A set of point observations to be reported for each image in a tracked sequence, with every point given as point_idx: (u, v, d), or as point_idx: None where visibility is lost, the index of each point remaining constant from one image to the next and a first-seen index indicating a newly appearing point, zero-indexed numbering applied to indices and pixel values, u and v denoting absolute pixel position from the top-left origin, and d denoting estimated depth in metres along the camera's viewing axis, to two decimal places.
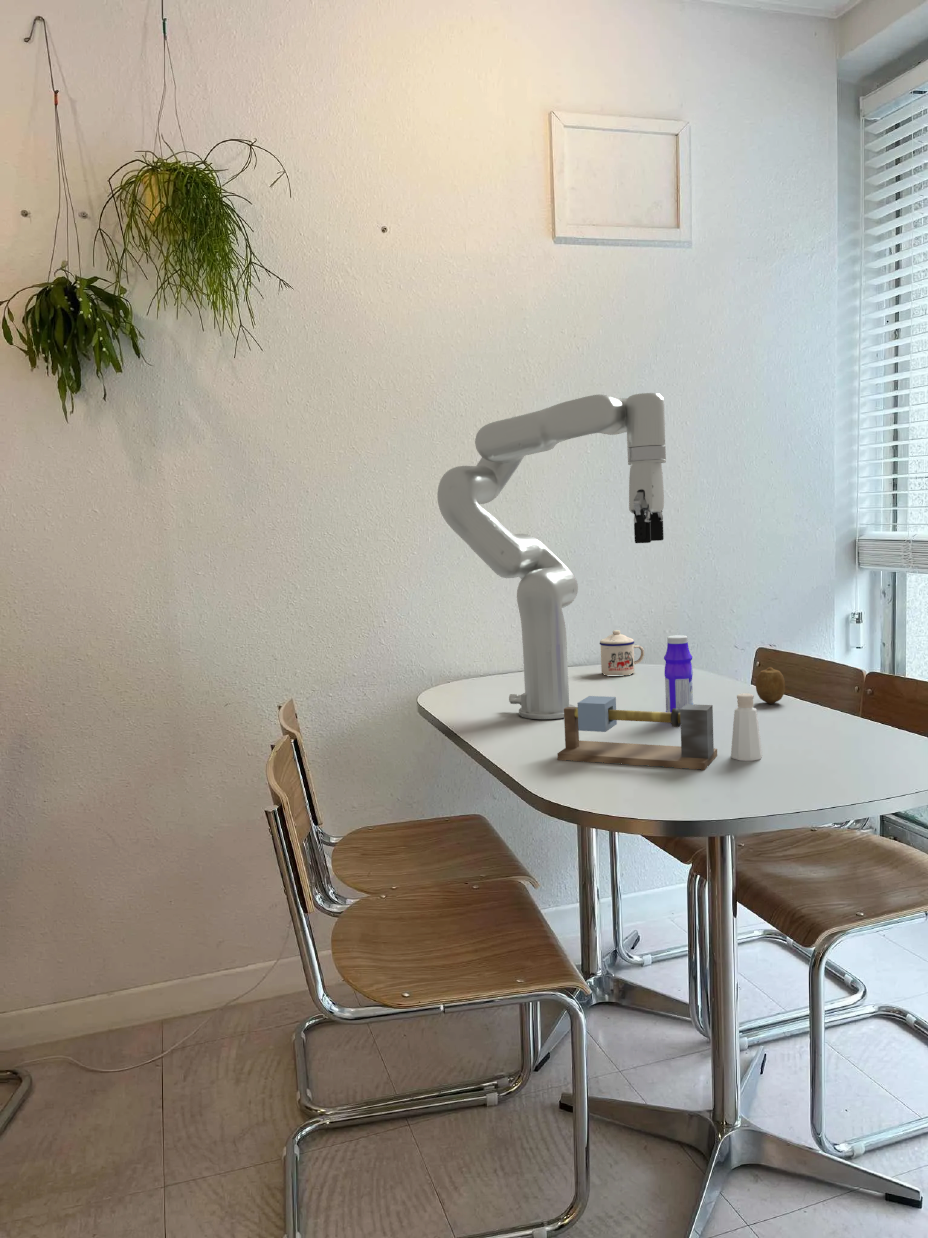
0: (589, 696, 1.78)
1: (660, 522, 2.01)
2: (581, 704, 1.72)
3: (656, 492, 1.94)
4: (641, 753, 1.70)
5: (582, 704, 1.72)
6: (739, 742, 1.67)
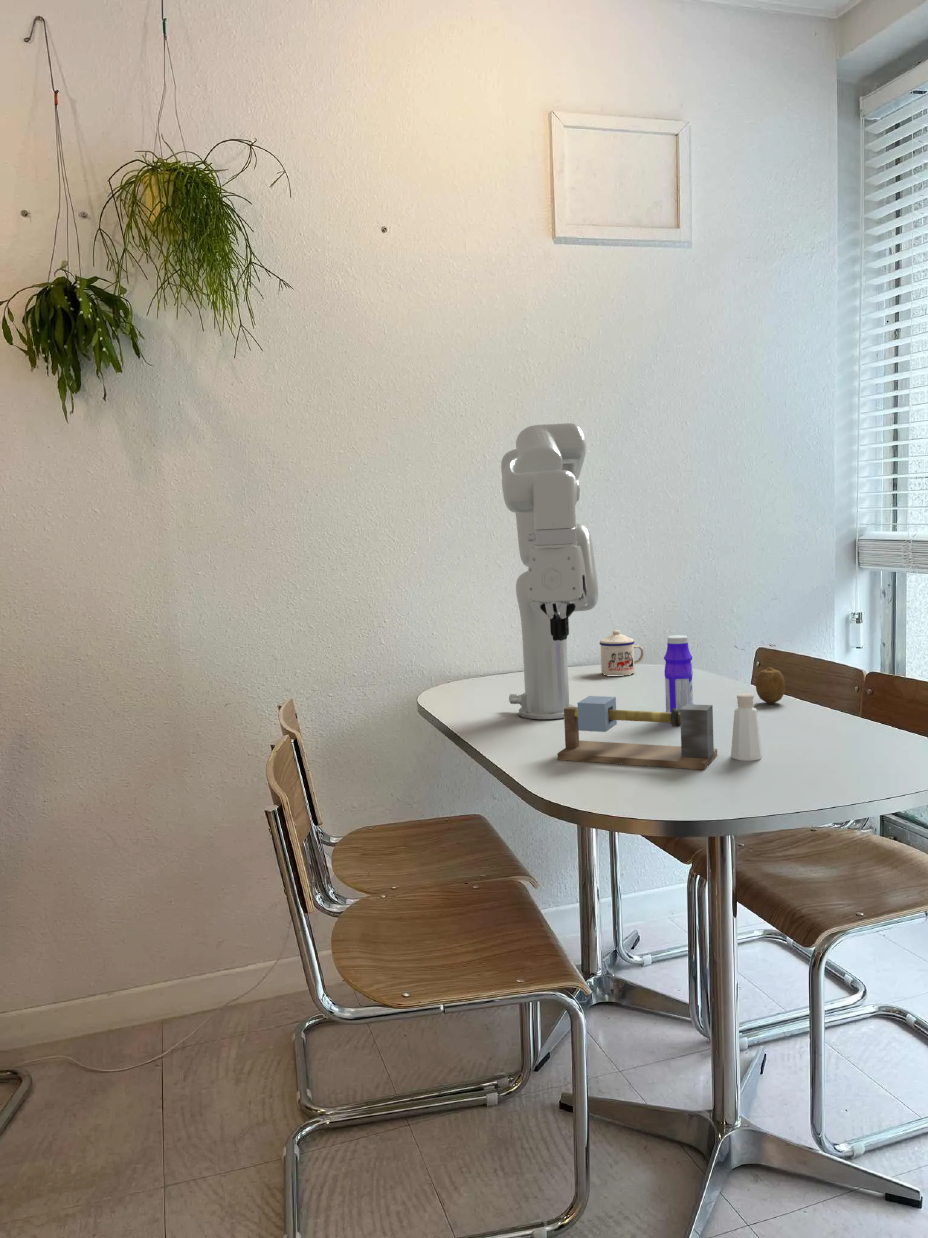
0: (589, 696, 1.78)
1: None
2: (581, 704, 1.72)
3: None
4: (641, 753, 1.70)
5: (582, 704, 1.72)
6: (739, 742, 1.67)
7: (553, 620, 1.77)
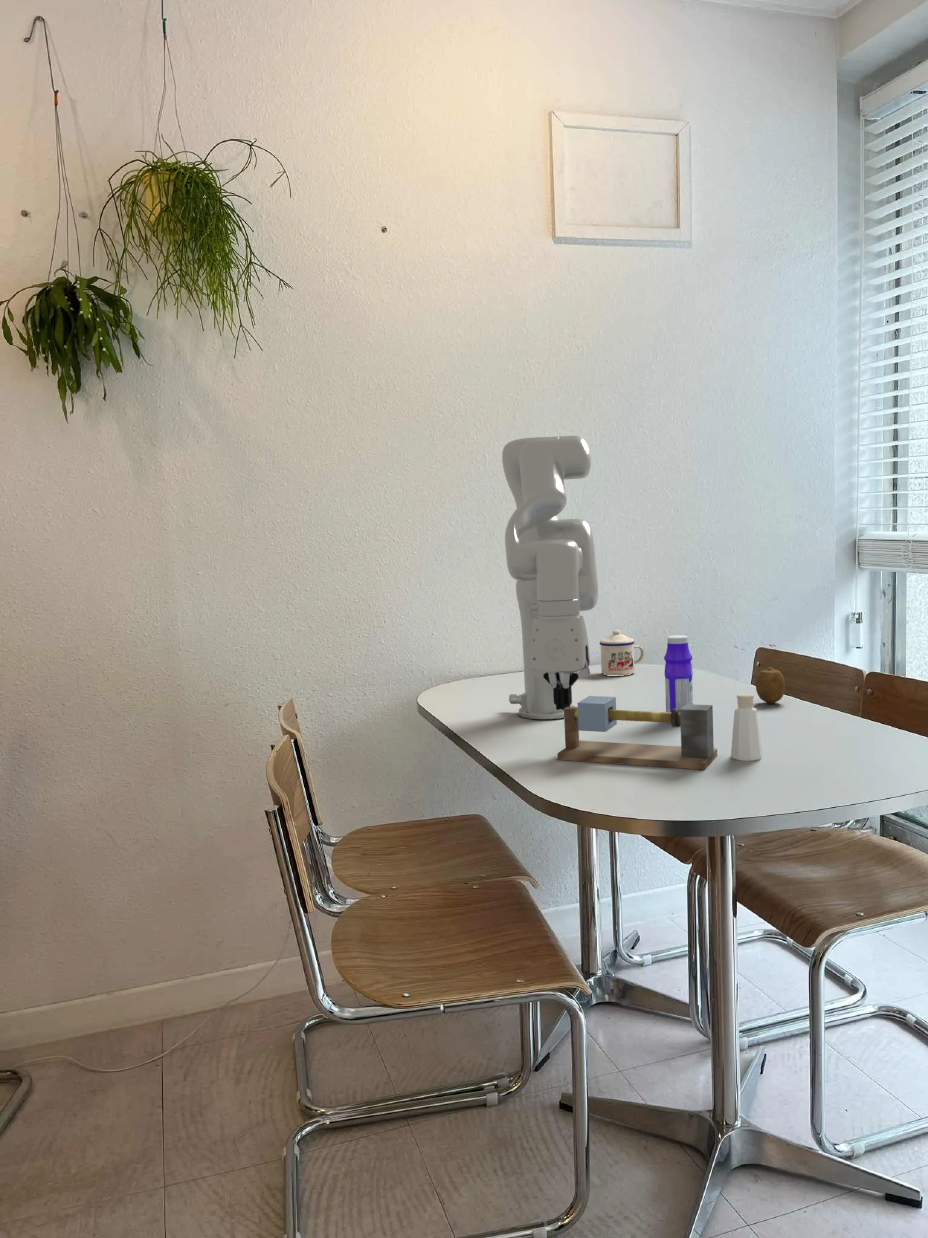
0: (589, 696, 1.78)
1: None
2: (581, 704, 1.72)
3: None
4: (641, 753, 1.70)
5: (582, 704, 1.72)
6: (739, 742, 1.67)
7: (556, 690, 1.78)
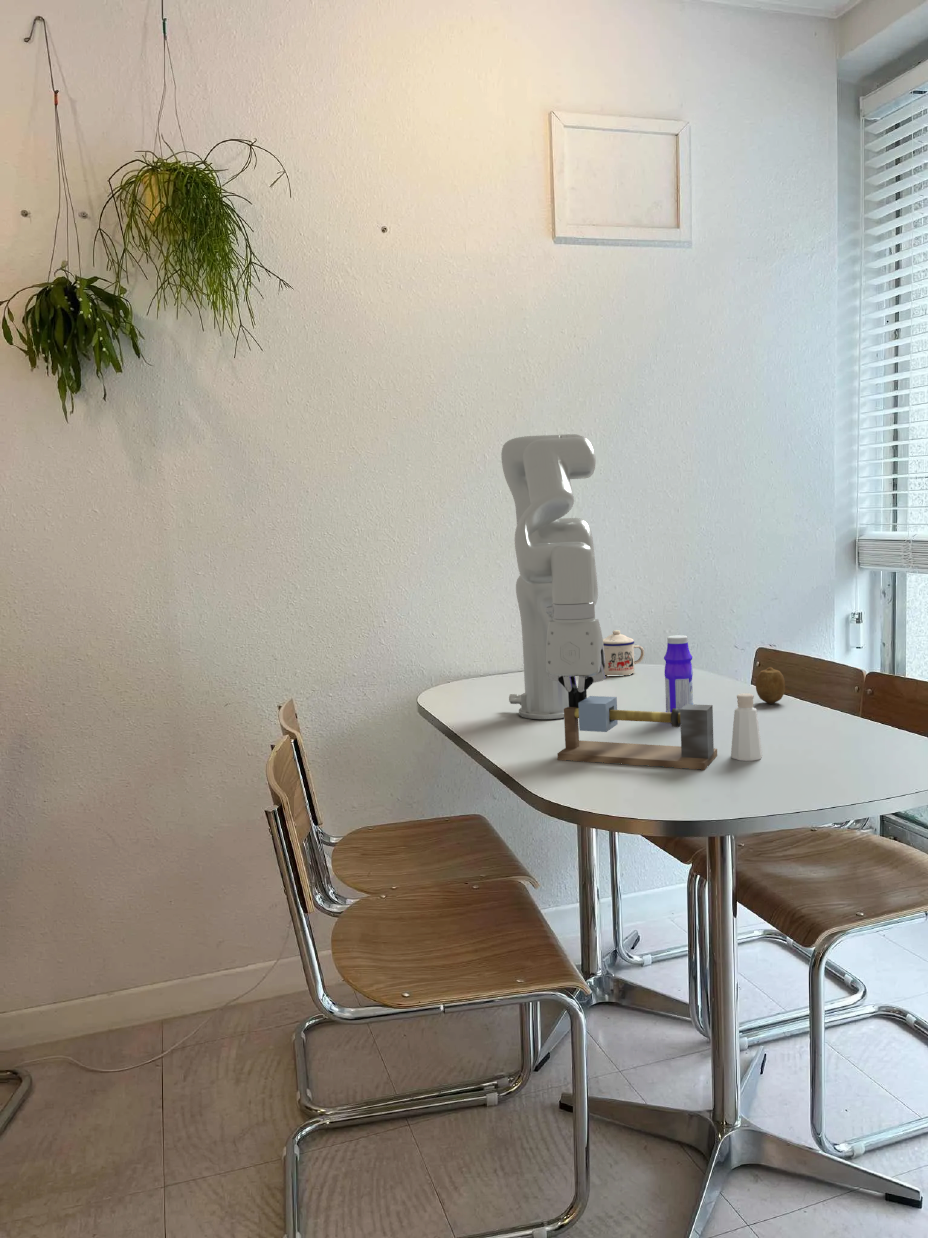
0: (590, 696, 1.78)
1: None
2: (582, 704, 1.72)
3: None
4: (641, 753, 1.70)
5: (583, 704, 1.72)
6: (739, 742, 1.67)
7: (571, 693, 1.77)
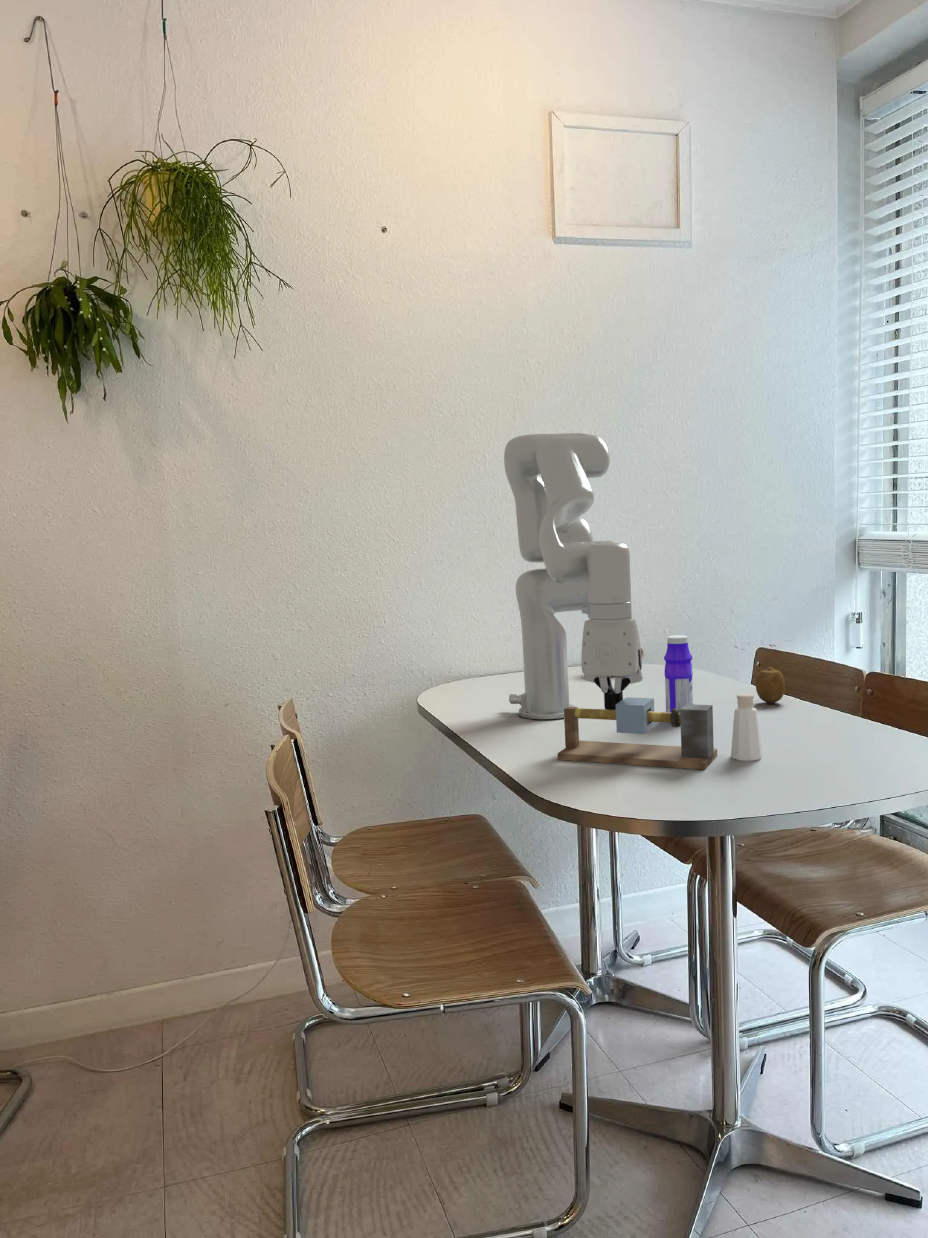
0: (626, 697, 1.74)
1: None
2: (619, 706, 1.69)
3: None
4: (641, 753, 1.70)
5: (620, 706, 1.69)
6: (739, 742, 1.67)
7: (607, 694, 1.74)
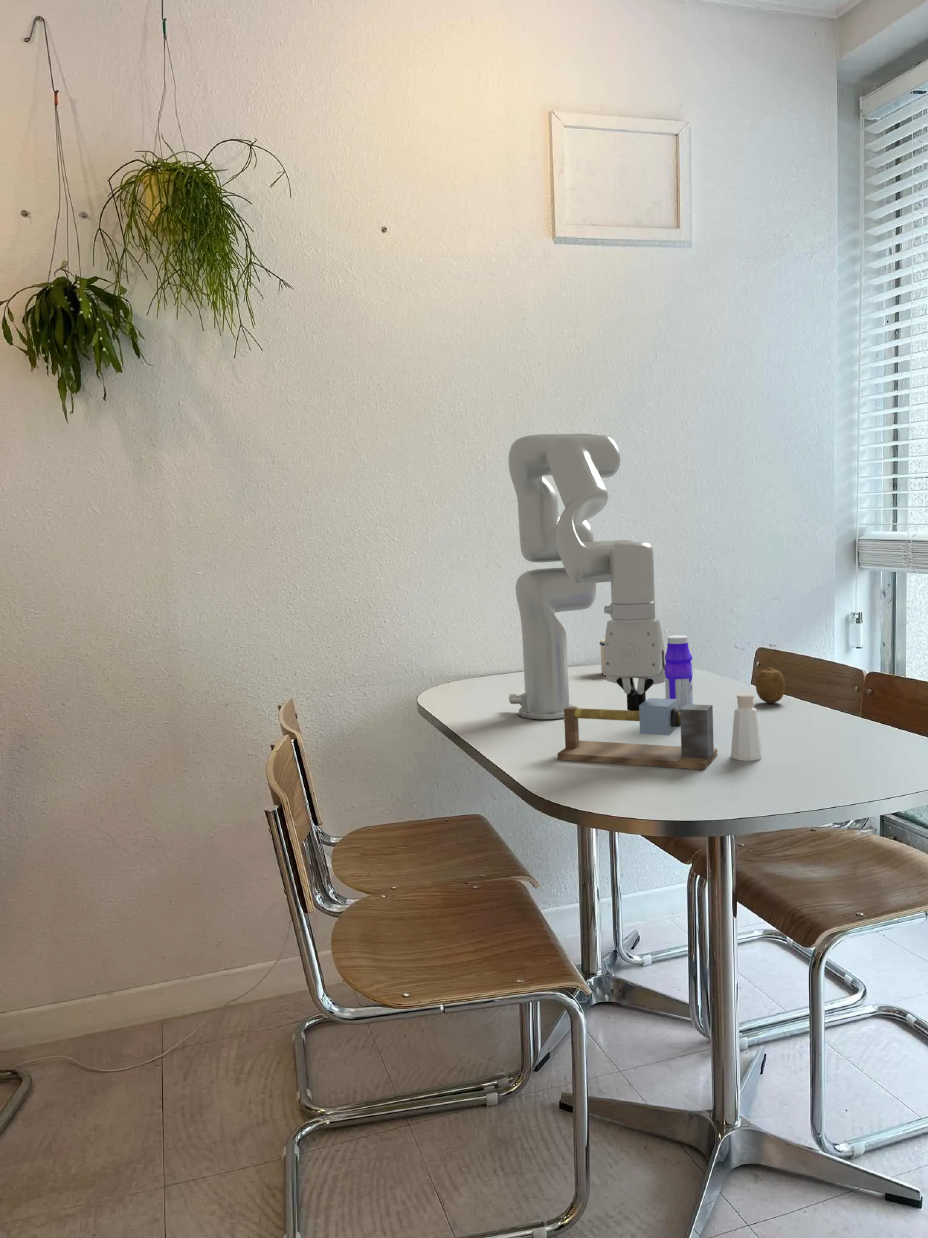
0: (649, 698, 1.73)
1: None
2: (643, 707, 1.67)
3: None
4: (641, 753, 1.70)
5: (644, 707, 1.67)
6: (739, 742, 1.67)
7: (630, 695, 1.72)
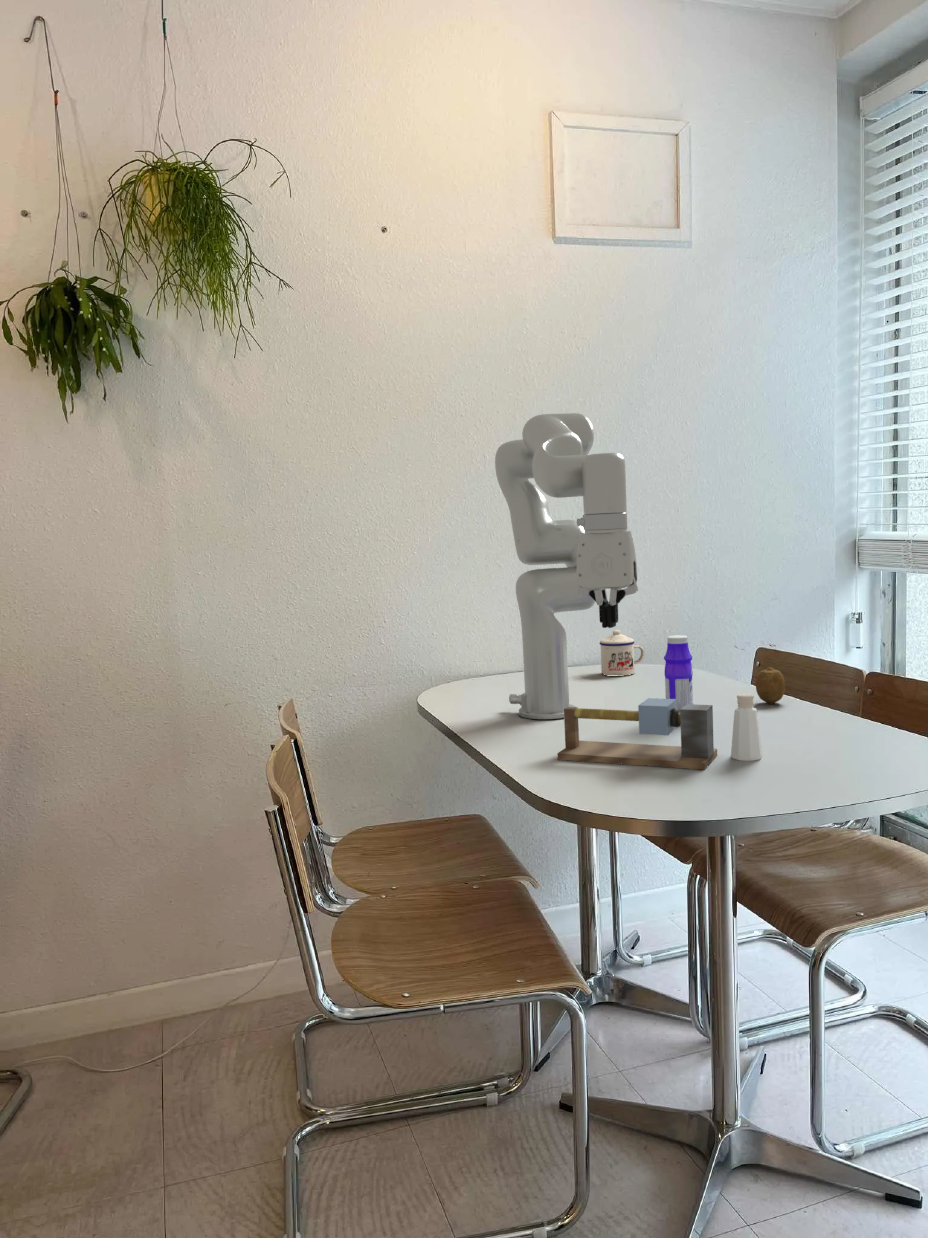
0: (648, 698, 1.73)
1: None
2: (642, 707, 1.67)
3: None
4: (641, 753, 1.70)
5: (643, 707, 1.67)
6: (739, 742, 1.67)
7: (602, 607, 1.73)
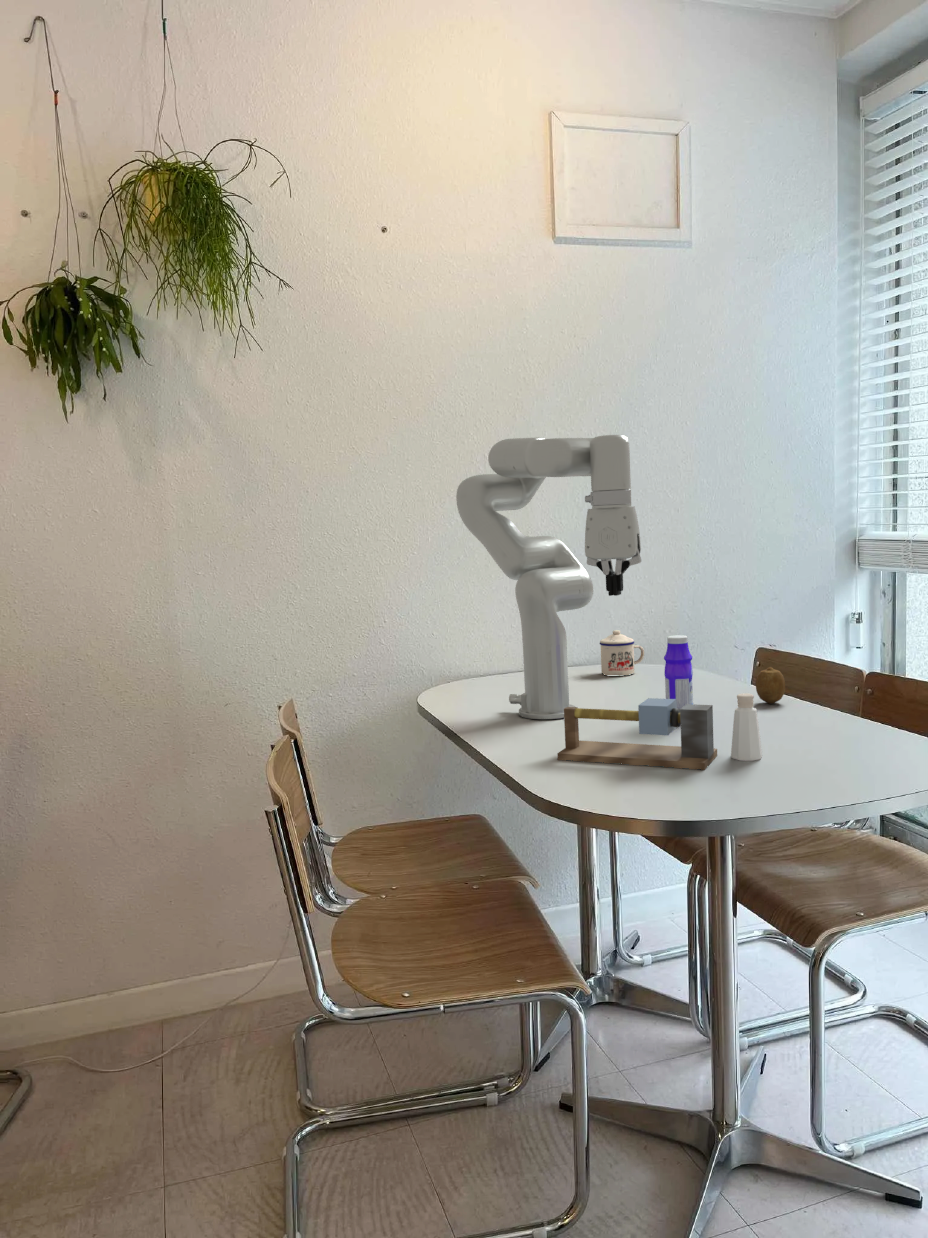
0: (648, 698, 1.73)
1: None
2: (642, 707, 1.67)
3: None
4: (641, 753, 1.70)
5: (643, 707, 1.67)
6: (739, 742, 1.67)
7: (609, 576, 1.89)
